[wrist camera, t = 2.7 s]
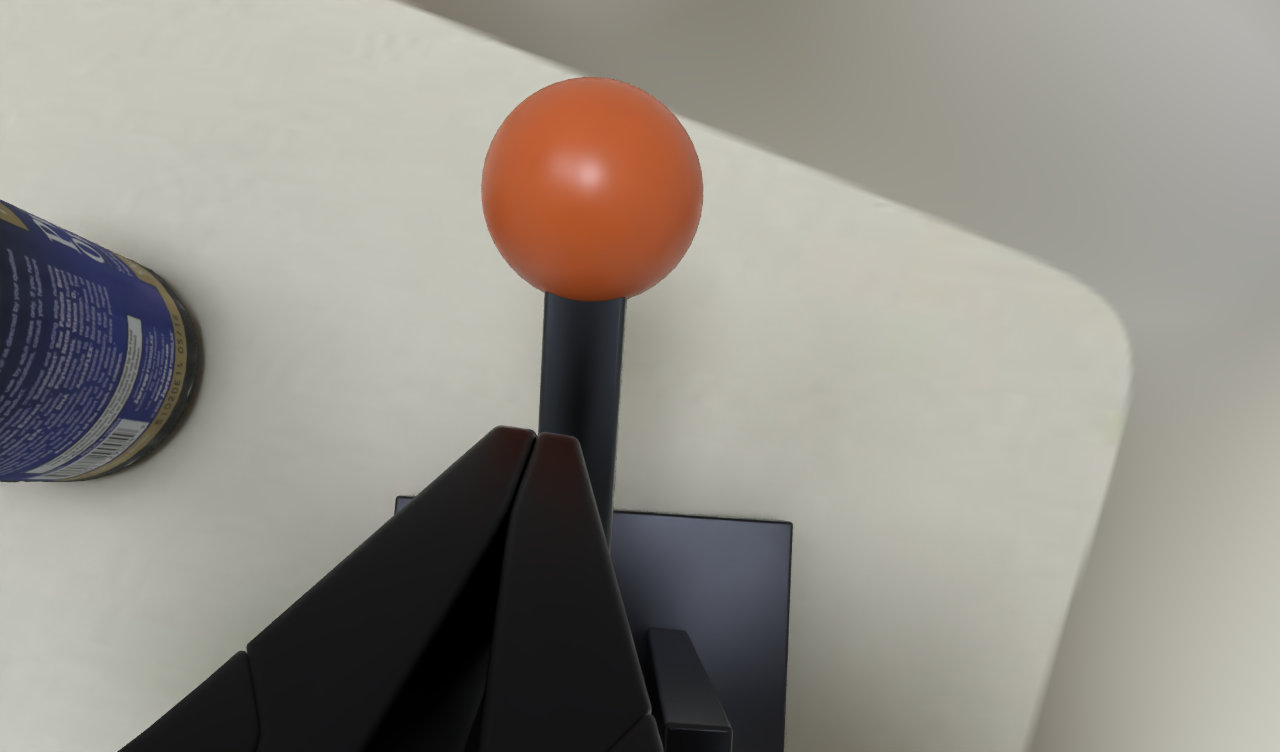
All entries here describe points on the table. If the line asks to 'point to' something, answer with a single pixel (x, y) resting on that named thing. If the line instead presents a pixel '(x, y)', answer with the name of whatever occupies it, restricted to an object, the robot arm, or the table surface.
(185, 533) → the table surface
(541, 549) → the robot arm
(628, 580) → the black pivot stand
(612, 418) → the lever
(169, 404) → the pill bottle
